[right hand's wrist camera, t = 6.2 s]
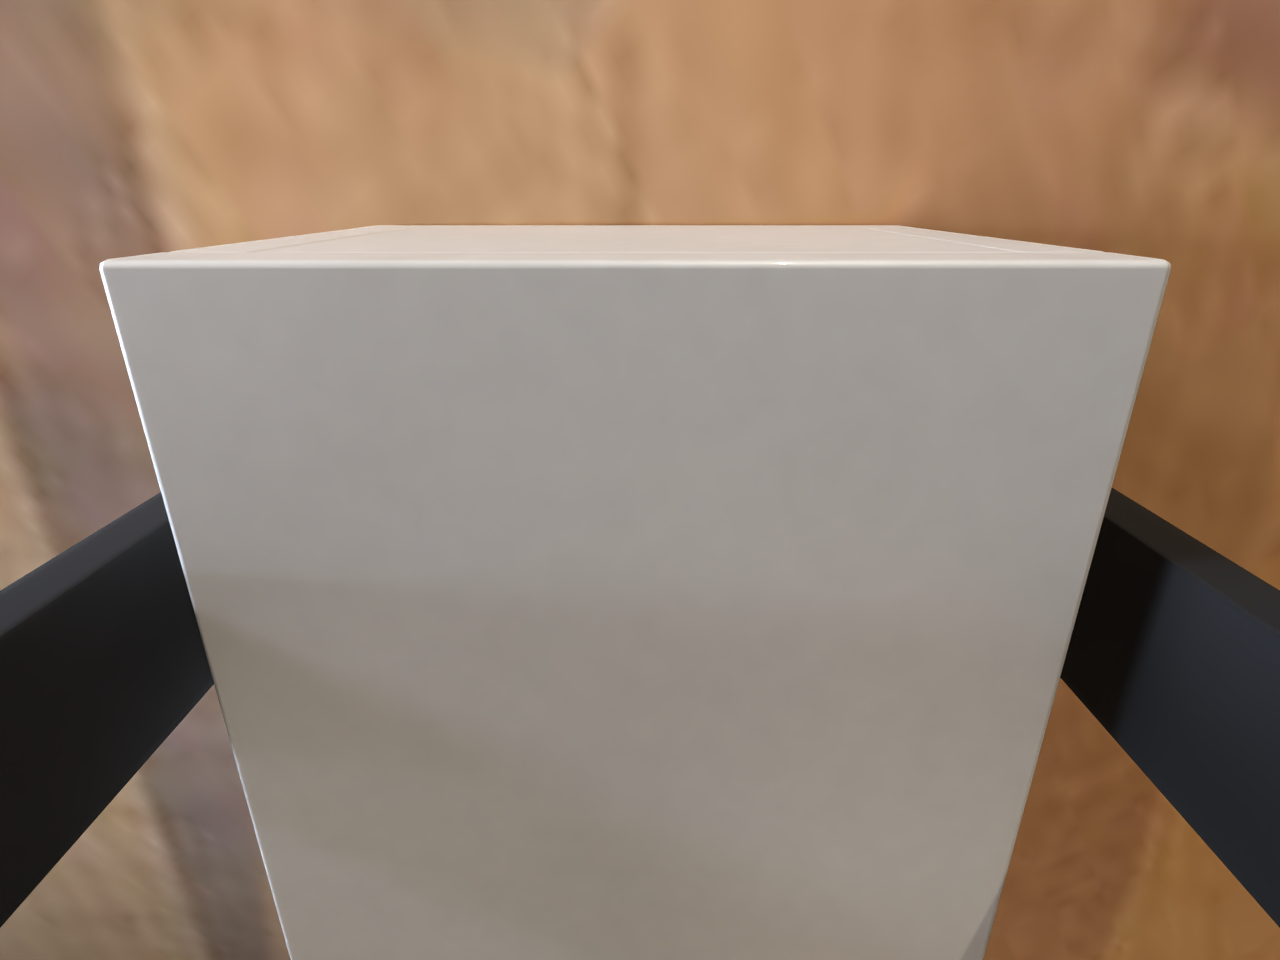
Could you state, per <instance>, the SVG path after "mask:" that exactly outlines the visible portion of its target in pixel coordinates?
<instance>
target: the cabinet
mask: <svg viewBox="0 0 1280 960" xmlns="http://www.w3.org/2000/svg"><path fill="white" fill-rule="evenodd" d="M1170 271H1171V264H1170V263H1169V262H1168V261H1166V260H1164V259H1157V258H1150V257H1142V256H1134V255H1126V254H1118V253H1105V252H1103V251H1096V250H1088V249H1080V248H1072V247H1064V246H1056V245H1048V244H1040V243H1032V242H1024V241H1017V240H1009V239H1001V238H993V237H985V236H977V235H969V234H961V233H953V232H945V231H937V230H929V229H921V228H914V227H906V226H898V225H377V226H369V227H361V228H354V229H346V230H338V231H330V232H322V233H314V234H306V235H298V236H290V237H282V238H274V239H266V240H258V241H250V242H242V243H234V244H226V245H218V246H210V247H202V248H194V249H186V250H178V251H171V252H169V253H154V254H146V255H138V256H130V257H122V258H114V259H107V260H105V261H103V262H102V263H100V273H101V276H102V280H103V284H104V287H105V291H106V295H107V298H108V302H109V305H110V309H111V313H112V316H113V320H114V323H115V327H116V331H117V334H118V338H119V341H120V345H121V349H122V352H123V356H124V360H125V363H126V367H127V370H128V374H129V378H130V381H131V385H132V388H133V392H134V396H135V399H136V403H137V406H138V410H139V414H140V417H141V421H142V425H143V428H144V432H145V435H146V439H147V443H148V446H149V450H150V453H151V457H152V461H153V464H154V468H155V471H156V475H157V479H158V482H159V486H160V490H161V493H162V497H163V500H164V504H165V508H166V511H167V515H168V518H169V522H170V526H171V529H172V533H173V536H174V540H175V544H176V547H177V551H178V555H179V558H180V562H181V565H182V569H183V573H184V576H185V580H186V583H187V587H188V591H189V594H190V598H191V602H192V605H193V609H194V612H195V616H196V620H197V623H198V627H199V630H200V634H201V638H202V641H203V645H204V648H205V652H206V656H207V659H208V663H209V667H210V670H211V674H212V677H213V681H214V685H215V688H216V692H217V695H218V699H219V703H220V706H221V710H222V713H223V717H224V721H225V724H226V728H227V732H228V735H229V739H230V742H231V746H232V750H233V753H234V757H235V760H236V764H237V768H238V771H239V775H240V778H241V782H242V786H243V789H244V793H245V797H246V800H247V804H248V807H249V811H250V815H251V818H252V822H253V825H254V829H255V833H256V836H257V840H258V843H259V847H260V851H261V854H262V858H263V862H264V865H265V869H266V872H267V876H268V880H269V883H270V887H271V890H272V894H273V898H274V901H275V905H276V908H277V912H278V916H279V919H280V923H281V927H282V930H283V934H284V937H285V941H286V945H287V948H288V952H289V955H290V959H291V960H983V959H984V955H985V951H986V948H987V944H988V940H989V937H990V933H991V929H992V926H993V922H994V918H995V915H996V911H997V907H998V904H999V900H1000V896H1001V892H1002V889H1003V885H1004V881H1005V878H1006V874H1007V870H1008V867H1009V863H1010V859H1011V856H1012V852H1013V848H1014V845H1015V841H1016V837H1017V834H1018V830H1019V826H1020V823H1021V819H1022V815H1023V812H1024V808H1025V804H1026V801H1027V797H1028V793H1029V790H1030V786H1031V782H1032V779H1033V775H1034V771H1035V767H1036V764H1037V760H1038V756H1039V753H1040V749H1041V745H1042V742H1043V738H1044V734H1045V731H1046V727H1047V723H1048V720H1049V716H1050V712H1051V709H1052V705H1053V701H1054V698H1055V694H1056V690H1057V687H1058V683H1059V679H1060V676H1061V672H1062V668H1063V665H1064V661H1065V657H1066V653H1067V650H1068V646H1069V642H1070V639H1071V635H1072V631H1073V628H1074V624H1075V620H1076V617H1077V613H1078V609H1079V606H1080V602H1081V598H1082V595H1083V591H1084V587H1085V584H1086V580H1087V576H1088V573H1089V569H1090V565H1091V562H1092V558H1093V554H1094V551H1095V547H1096V543H1097V540H1098V536H1099V532H1100V528H1101V525H1102V521H1103V517H1104V514H1105V510H1106V506H1107V503H1108V499H1109V495H1110V492H1111V488H1112V484H1113V481H1114V477H1115V473H1116V470H1117V466H1118V462H1119V459H1120V455H1121V451H1122V448H1123V444H1124V440H1125V437H1126V433H1127V429H1128V426H1129V422H1130V418H1131V414H1132V411H1133V407H1134V403H1135V400H1136V396H1137V392H1138V389H1139V385H1140V381H1141V378H1142V374H1143V370H1144V367H1145V363H1146V359H1147V356H1148V352H1149V348H1150V345H1151V341H1152V337H1153V334H1154V330H1155V326H1156V323H1157V319H1158V315H1159V312H1160V308H1161V304H1162V300H1163V297H1164V293H1165V289H1166V286H1167V282H1168V278H1169V275H1170Z"/></svg>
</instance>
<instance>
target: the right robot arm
mask: <svg viewBox="0 0 1280 960" xmlns="http://www.w3.org/2000/svg"><path fill="white" fill-rule="evenodd" d="M1060 677H1061V679H1062V680H1063V681H1064V682H1065V683H1066V684H1067V685H1068V687H1069V688H1070V689H1071V690H1072V691H1073V692H1074V693H1075V695H1076V696H1077V697H1078V698H1079V699H1080V700H1081V701H1082V703H1083V704H1084V705H1085V706H1086V707H1087V708H1088V709H1089V710H1090V712H1091V713H1092V714H1093V715H1094V716H1095V717H1096V718H1097V720H1098V721H1099V722H1100V723H1101V724H1102V725H1103V726H1104V728H1105V729H1106V730H1107V731H1108V732H1109V733H1110V734H1111V736H1112V737H1113V738H1114V739H1115V740H1116V741H1117V742H1118V744H1119V745H1120V746H1121V747H1122V748H1123V749H1124V750H1125V752H1126V753H1127V754H1128V755H1129V756H1130V757H1131V758H1132V760H1133V761H1134V762H1135V763H1136V764H1137V765H1138V766H1139V768H1140V769H1141V770H1142V771H1143V772H1144V773H1145V774H1146V776H1147V777H1148V778H1149V779H1150V780H1151V781H1152V782H1153V784H1154V785H1155V786H1156V787H1157V788H1158V789H1159V790H1160V791H1161V793H1162V794H1163V795H1164V796H1165V797H1166V798H1167V799H1168V801H1169V802H1170V803H1171V804H1172V805H1173V806H1174V807H1175V809H1176V810H1177V811H1178V812H1179V813H1180V814H1181V815H1182V817H1183V818H1184V819H1185V820H1186V821H1187V822H1188V823H1189V825H1190V826H1191V827H1192V828H1193V829H1194V830H1195V831H1196V833H1197V834H1198V835H1199V836H1200V837H1201V838H1202V839H1203V841H1204V842H1205V843H1206V844H1207V845H1208V846H1209V847H1210V849H1211V850H1212V851H1213V852H1214V853H1215V854H1216V855H1217V857H1218V858H1219V859H1220V860H1221V861H1222V862H1223V863H1224V865H1225V866H1226V867H1227V868H1228V869H1229V870H1230V871H1231V872H1232V874H1233V875H1234V876H1235V877H1236V878H1237V879H1238V880H1239V882H1240V883H1241V884H1242V885H1243V886H1244V887H1245V888H1246V890H1247V891H1248V892H1249V893H1250V894H1251V895H1252V896H1253V898H1254V899H1255V900H1256V901H1257V902H1258V903H1259V904H1260V906H1261V907H1262V908H1263V909H1264V910H1265V911H1266V912H1267V914H1268V915H1269V916H1270V917H1271V918H1272V919H1273V920H1274V922H1275V923H1276V924H1277V925H1278V926H1279V927H1280V591H1279V590H1278V589H1276V588H1274V587H1273V586H1271V585H1269V584H1268V583H1266V582H1265V581H1263V580H1261V579H1260V578H1258V577H1256V576H1255V575H1253V574H1252V573H1250V572H1248V571H1247V570H1245V569H1243V568H1242V567H1240V566H1239V565H1237V564H1235V563H1234V562H1232V561H1230V560H1229V559H1227V558H1226V557H1224V556H1222V555H1221V554H1219V553H1217V552H1216V551H1214V550H1213V549H1211V548H1209V547H1208V546H1206V545H1204V544H1203V543H1201V542H1199V541H1198V540H1196V539H1195V538H1193V537H1191V536H1190V535H1188V534H1186V533H1185V532H1183V531H1182V530H1180V529H1178V528H1177V527H1175V526H1173V525H1172V524H1170V523H1169V522H1167V521H1165V520H1164V519H1162V518H1160V517H1159V516H1157V515H1156V514H1154V513H1152V512H1151V511H1149V510H1147V509H1146V508H1144V507H1143V506H1141V505H1139V504H1138V503H1136V502H1134V501H1133V500H1131V499H1130V498H1128V497H1126V496H1125V495H1123V494H1121V493H1120V492H1118V491H1116V490H1115V489H1113V488H1111V492H1110V495H1109V499H1108V503H1107V506H1106V510H1105V514H1104V517H1103V521H1102V525H1101V528H1100V532H1099V536H1098V540H1097V543H1096V547H1095V551H1094V554H1093V558H1092V562H1091V565H1090V569H1089V573H1088V576H1087V580H1086V584H1085V587H1084V591H1083V595H1082V598H1081V602H1080V606H1079V609H1078V613H1077V617H1076V620H1075V624H1074V628H1073V631H1072V635H1071V639H1070V642H1069V646H1068V650H1067V653H1066V657H1065V661H1064V665H1063V668H1062V672H1061V676H1060ZM213 684H214V681H213V677H212V674H211V670H210V667H209V663H208V659H207V656H206V652H205V648H204V645H203V641H202V638H201V634H200V630H199V627H198V623H197V620H196V616H195V612H194V609H193V605H192V602H191V598H190V594H189V591H188V587H187V583H186V580H185V576H184V573H183V569H182V565H181V562H180V558H179V555H178V551H177V547H176V544H175V540H174V536H173V533H172V529H171V526H170V522H169V518H168V515H167V511H166V508H165V504H164V500H163V497H162V493H161V492H160V493H159V494H157V495H155V496H154V497H152V498H151V499H149V500H147V501H146V502H144V503H142V504H141V505H139V506H137V507H136V508H134V509H133V510H131V511H129V512H128V513H126V514H124V515H123V516H121V517H120V518H118V519H116V520H115V521H113V522H111V523H110V524H108V525H107V526H105V527H103V528H102V529H100V530H98V531H97V532H95V533H94V534H92V535H90V536H89V537H87V538H85V539H84V540H82V541H81V542H79V543H77V544H76V545H74V546H72V547H71V548H69V549H68V550H66V551H64V552H63V553H61V554H59V555H58V556H56V557H55V558H53V559H51V560H50V561H48V562H46V563H45V564H43V565H41V566H40V567H38V568H37V569H35V570H33V571H32V572H30V573H28V574H27V575H25V576H24V577H22V578H20V579H19V580H17V581H15V582H14V583H12V584H11V585H9V586H7V587H6V588H4V589H2V590H1V591H0V927H1V926H2V925H3V924H4V923H5V922H6V920H7V919H8V918H9V917H10V916H11V915H12V914H13V912H14V911H15V910H16V909H17V908H18V907H19V906H20V904H21V903H22V902H23V901H24V900H25V899H26V898H27V896H28V895H29V894H30V893H31V892H32V891H33V890H34V889H35V887H36V886H37V885H38V884H39V883H40V882H41V881H42V879H43V878H44V877H45V876H46V875H47V874H48V873H49V871H50V870H51V869H52V868H53V867H54V866H55V865H56V863H57V862H58V861H59V860H60V859H61V858H62V857H63V855H64V854H65V853H66V852H67V851H68V850H69V849H70V847H71V846H72V845H73V844H74V843H75V842H76V841H77V839H78V838H79V837H80V836H81V835H82V834H83V833H84V831H85V830H86V829H87V828H88V827H89V826H90V825H91V823H92V822H93V821H94V820H95V819H96V818H97V817H98V815H99V814H100V813H101V812H102V811H103V810H104V809H105V808H106V806H107V805H108V804H109V803H110V802H111V801H112V800H113V798H114V797H115V796H116V795H117V794H118V793H119V792H120V790H121V789H122V788H123V787H124V786H125V785H126V784H127V782H128V781H129V780H130V779H131V778H132V777H133V776H134V774H135V773H136V772H137V771H138V770H139V769H140V768H141V766H142V765H143V764H144V763H145V762H146V761H147V760H148V758H149V757H150V756H151V755H152V754H153V753H154V752H155V750H156V749H157V748H158V747H159V746H160V745H161V744H162V742H163V741H164V740H165V739H166V738H167V737H168V736H169V734H170V733H171V732H172V731H173V730H174V729H175V728H176V727H177V725H178V724H179V723H180V722H181V721H182V720H183V719H184V717H185V716H186V715H187V714H188V713H189V712H190V711H191V709H192V708H193V707H194V706H195V705H196V704H197V703H198V701H199V700H200V699H201V698H202V697H203V696H204V695H205V693H206V692H207V691H208V690H209V689H210V688H211V687H212V685H213Z"/></svg>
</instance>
